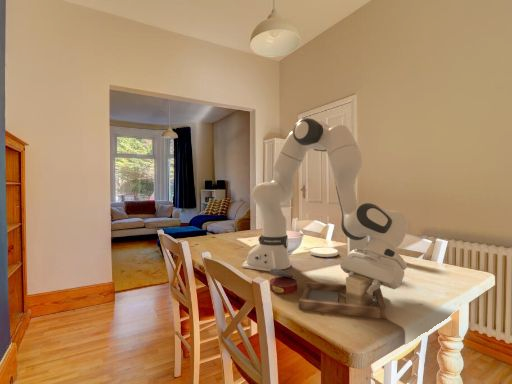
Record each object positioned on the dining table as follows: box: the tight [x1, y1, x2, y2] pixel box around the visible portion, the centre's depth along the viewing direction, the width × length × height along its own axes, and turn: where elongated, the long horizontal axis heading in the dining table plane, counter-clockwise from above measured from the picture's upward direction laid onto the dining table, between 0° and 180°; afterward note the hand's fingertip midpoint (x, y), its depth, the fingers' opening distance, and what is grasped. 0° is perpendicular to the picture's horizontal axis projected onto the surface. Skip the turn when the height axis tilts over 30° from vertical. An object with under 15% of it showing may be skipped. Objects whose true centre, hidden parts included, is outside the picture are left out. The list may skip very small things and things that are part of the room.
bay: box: [298, 281, 387, 320], centre depth 88 cm, size 24×17×4 cm
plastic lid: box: [310, 247, 339, 258], centre depth 146 cm, size 14×14×2 cm
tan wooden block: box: [345, 274, 374, 306], centre depth 86 cm, size 6×6×8 cm
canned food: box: [268, 269, 298, 295], centre depth 100 cm, size 11×10×10 cm
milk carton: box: [346, 236, 369, 255], centre depth 117 cm, size 7×7×19 cm
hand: (357, 290), depth 85 cm, fingers closed on tan wooden block, 5 cm apart
